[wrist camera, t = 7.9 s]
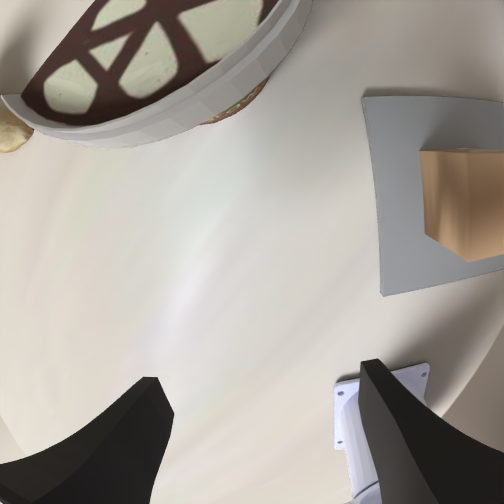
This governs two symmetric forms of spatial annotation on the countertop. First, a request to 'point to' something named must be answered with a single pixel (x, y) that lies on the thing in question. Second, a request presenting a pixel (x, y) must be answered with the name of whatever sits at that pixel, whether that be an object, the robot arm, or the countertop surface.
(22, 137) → the chocolate bunny
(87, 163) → the countertop surface
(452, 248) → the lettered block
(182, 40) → the food container
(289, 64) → the countertop surface
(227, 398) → the countertop surface
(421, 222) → the slate board
